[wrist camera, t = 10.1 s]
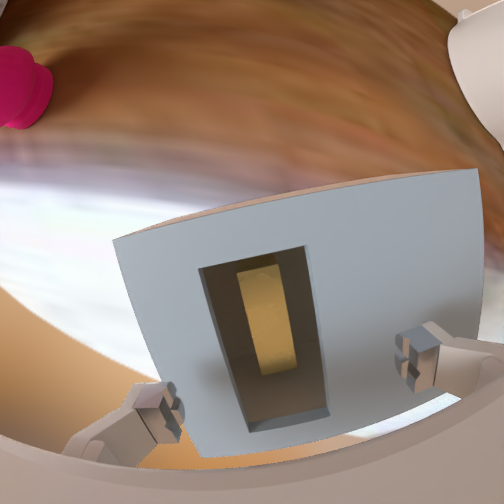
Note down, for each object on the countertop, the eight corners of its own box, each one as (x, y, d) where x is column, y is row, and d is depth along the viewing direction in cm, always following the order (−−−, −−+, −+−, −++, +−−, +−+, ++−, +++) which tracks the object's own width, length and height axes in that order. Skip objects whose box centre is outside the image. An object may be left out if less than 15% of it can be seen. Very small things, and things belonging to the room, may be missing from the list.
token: (268, 243, 19) (278, 263, 13) (284, 322, 21) (297, 367, 15) (239, 249, 19) (236, 273, 14) (257, 328, 21) (261, 375, 15)
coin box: (386, 175, 19) (477, 168, 10) (400, 318, 22) (468, 379, 12) (173, 218, 20) (112, 240, 10) (215, 364, 22) (201, 457, 12)
